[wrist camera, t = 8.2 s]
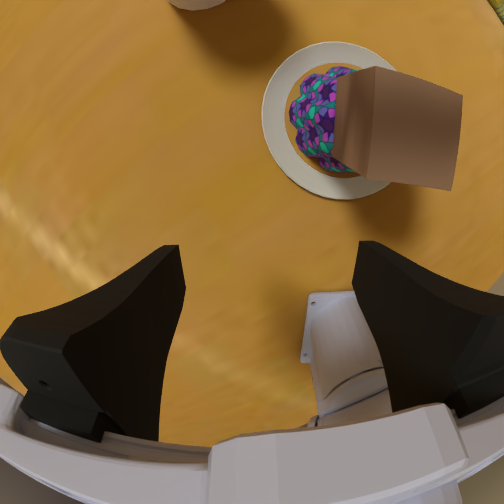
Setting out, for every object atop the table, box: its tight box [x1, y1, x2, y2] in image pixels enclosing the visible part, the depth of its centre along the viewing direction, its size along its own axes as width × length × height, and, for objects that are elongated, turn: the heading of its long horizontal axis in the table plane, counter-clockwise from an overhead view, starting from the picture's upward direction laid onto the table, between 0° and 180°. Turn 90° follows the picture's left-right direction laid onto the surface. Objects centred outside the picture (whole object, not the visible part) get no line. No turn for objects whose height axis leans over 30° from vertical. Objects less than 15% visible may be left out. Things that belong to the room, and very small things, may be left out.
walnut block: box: [332, 66, 463, 191], centre depth 11 cm, size 4×4×5 cm
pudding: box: [262, 42, 396, 199], centre depth 16 cm, size 12×12×5 cm
